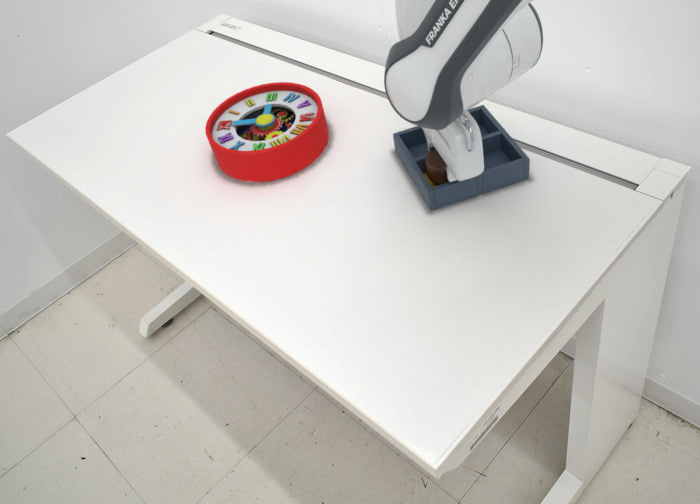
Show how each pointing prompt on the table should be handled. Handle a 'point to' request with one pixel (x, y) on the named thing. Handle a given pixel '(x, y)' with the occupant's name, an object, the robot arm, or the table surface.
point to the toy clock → (268, 131)
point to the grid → (499, 170)
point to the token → (436, 167)
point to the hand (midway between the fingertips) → (443, 164)
